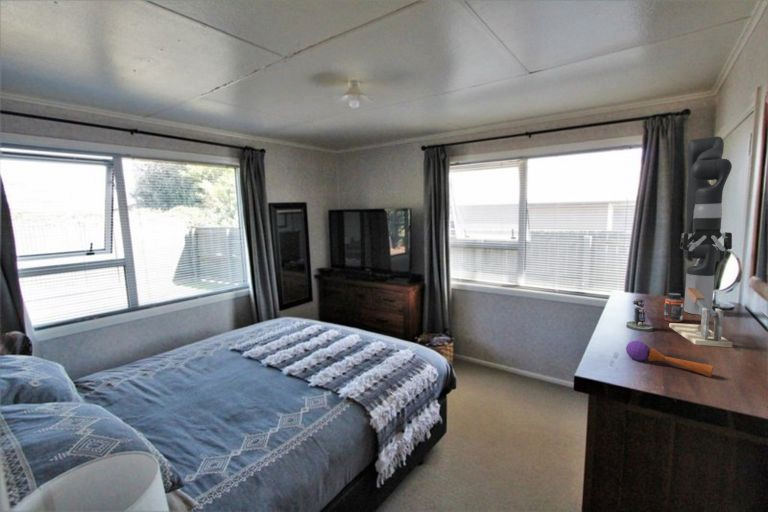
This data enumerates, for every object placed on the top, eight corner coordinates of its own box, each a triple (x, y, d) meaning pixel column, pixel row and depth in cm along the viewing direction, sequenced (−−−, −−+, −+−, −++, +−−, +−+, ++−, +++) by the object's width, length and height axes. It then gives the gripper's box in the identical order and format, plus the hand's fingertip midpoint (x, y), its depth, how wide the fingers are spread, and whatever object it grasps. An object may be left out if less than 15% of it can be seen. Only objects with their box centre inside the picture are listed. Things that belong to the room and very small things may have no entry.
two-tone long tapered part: (711, 367, 94) (624, 343, 109) (708, 386, 96) (622, 359, 111) (715, 357, 98) (630, 335, 113) (711, 375, 100) (628, 351, 114)
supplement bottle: (686, 322, 144) (688, 295, 143) (671, 322, 144) (673, 295, 143) (674, 318, 150) (676, 292, 149) (660, 318, 150) (661, 292, 149)
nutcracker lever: (715, 324, 120) (719, 313, 118) (706, 323, 121) (709, 313, 119) (693, 297, 134) (696, 288, 132) (685, 297, 135) (687, 287, 133)
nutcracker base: (669, 326, 139) (671, 296, 138) (700, 328, 136) (702, 298, 135) (695, 344, 120) (697, 310, 119) (732, 347, 117) (735, 311, 116)
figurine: (621, 326, 141) (623, 297, 139) (634, 323, 144) (635, 294, 143) (645, 332, 133) (646, 301, 132) (657, 329, 137) (659, 298, 136)
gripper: (726, 215, 128) (722, 260, 130) (678, 217, 133) (675, 259, 135) (738, 216, 121) (735, 262, 123) (688, 217, 126) (685, 262, 128)
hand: (704, 261), depth 129 cm, fingers open, 8 cm apart
